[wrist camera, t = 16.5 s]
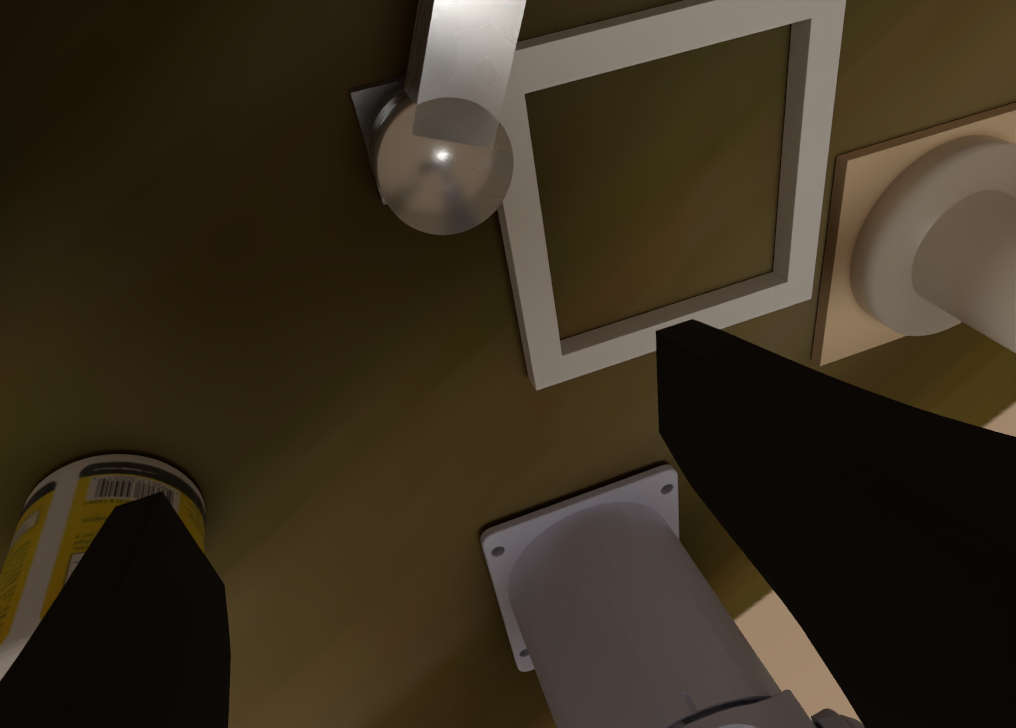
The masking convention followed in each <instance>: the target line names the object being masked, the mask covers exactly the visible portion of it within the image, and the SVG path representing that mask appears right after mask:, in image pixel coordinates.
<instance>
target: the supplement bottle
mask: <svg viewBox="0 0 1016 728" xmlns="http://www.w3.org/2000/svg"><path fill="white" fill-rule="evenodd" d="M162 491H163V493H164V494H165V496H166V497H167V499H168V500H169V502H170V503H171V505H172V506H173V508H174V509H175V511H176V512H177V514H178V515H179V517H180V518H181V520H182V521H183V523H184V524H185V526H186V528H187V529H188V531H189V532H190V534H191V535H192V537H193V538H194V540H195V541H196V543H197V544H198V546H199V547H200V549H201V550H202V552H203V553H204V544H205V518H206V516H205V506H204V501H203V498H202V496H201V494H200V492H199V490H198V489H197V487H196V486H195V485H194V484H193V482H192V481H191V480H190V479H188V478H187V477H186V476H185V475H184V474H183V473H181V472H180V471H179V470H177V469H175V468H174V467H172V466H170V465H168V464H166V463H163V462H161V461H158V460H156V459H152V458H148V457H144V456H138V455H130V454H109V455H100V456H94V457H89V458H85V459H82V460H79V461H76V462H73V463H71V464H69V465H66V466H64V467H62V468H60V469H59V470H57V471H55V472H53V473H52V474H50V475H49V476H48V477H46V478H45V479H44V480H43V481H41V482H40V483H39V484H38V485H37V486H36V487H35V489H34V490H33V491H32V493H31V494H30V496H29V497H28V499H27V501H26V503H25V506H24V508H23V511H22V513H21V516H20V519H19V522H18V525H17V528H16V531H15V534H14V537H13V539H12V542H11V545H10V549H9V552H8V554H7V557H6V560H5V563H4V566H3V569H2V572H1V575H0V681H1V679H2V678H3V676H4V675H5V674H6V672H7V671H8V669H9V668H10V667H11V665H12V664H13V662H14V661H15V660H16V658H17V657H18V655H19V654H20V652H21V651H22V649H23V648H24V646H25V645H26V643H27V642H28V640H29V639H30V637H31V635H32V634H33V632H34V631H35V629H36V628H37V626H38V625H39V623H40V622H41V620H42V619H43V617H44V616H45V614H46V613H47V611H48V609H49V608H50V606H51V605H52V603H53V602H54V600H55V599H56V597H57V596H58V594H59V593H60V591H61V590H62V588H63V586H64V585H65V583H66V582H67V580H68V579H69V577H70V575H71V574H72V572H73V571H74V569H75V568H76V566H77V564H78V563H79V561H80V560H81V558H82V557H83V555H84V553H85V552H86V550H87V549H88V547H89V546H90V544H91V542H92V541H93V539H94V538H95V536H96V535H97V533H98V531H99V530H100V528H101V527H102V525H103V524H104V522H105V521H106V519H107V518H108V516H109V515H110V514H111V512H112V511H113V509H114V508H115V506H118V505H122V504H125V503H128V502H131V501H134V500H137V499H140V498H143V497H146V496H149V495H152V494H155V493H158V492H162Z"/></svg>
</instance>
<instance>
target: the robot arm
mask: <svg viewBox="0 0 1016 728" xmlns="http://www.w3.org/2000/svg"><path fill="white" fill-rule="evenodd" d="M656 356H657V385H658V413H659V433H660V434H661V436H662V438H663V440H664V441H665V443H666V445H667V447H668V448H669V450H670V452H671V453H672V455H673V457H674V459H675V460H676V462H677V464H678V465H679V467H680V469H681V470H682V472H683V473H684V475H685V477H686V478H687V480H688V482H689V483H690V485H691V486H692V487H693V489H694V490H695V491H696V493H697V494H698V495H699V497H700V498H701V499H702V501H703V502H704V503H705V504H706V506H707V507H708V508H709V509H710V511H711V512H712V513H713V515H714V516H715V517H716V518H717V520H718V521H719V522H720V523H721V525H722V526H723V527H724V529H725V530H726V531H727V532H728V534H729V535H730V536H731V537H732V539H733V540H734V541H735V542H736V544H737V545H738V546H739V547H740V549H741V550H742V551H743V552H744V554H745V555H746V556H747V557H748V559H749V560H750V561H751V562H752V564H753V565H754V566H755V567H756V569H757V570H758V571H759V572H760V574H761V575H762V576H763V577H764V579H765V580H766V581H767V583H768V584H769V585H770V586H771V588H772V589H773V590H774V591H775V593H776V594H777V595H778V596H779V598H780V599H781V600H782V601H783V603H784V604H785V605H786V607H787V608H788V610H789V611H790V612H791V614H792V615H793V616H794V618H795V619H796V621H797V622H798V623H799V625H800V626H801V627H802V629H803V631H804V632H805V634H806V635H807V637H808V638H809V640H810V641H811V643H812V644H813V646H814V647H815V649H816V651H817V652H818V654H819V655H820V657H821V658H822V660H823V661H824V663H825V664H826V666H827V667H828V669H829V671H830V672H831V674H832V675H833V677H834V678H835V680H836V682H837V683H838V685H839V686H840V687H841V689H842V691H843V693H844V694H845V696H846V697H847V699H848V700H849V702H850V704H851V705H852V707H853V709H854V710H855V712H856V714H857V715H858V717H859V719H860V720H861V722H862V723H863V724H862V723H861V722H859V721H858V720H856V719H853V718H850V717H847V716H844V715H839V714H837V713H836V712H835V711H833V710H831V709H823V710H822V711H820V712H818V713H817V714H815V715H813V716H811V718H812V721H811V720H810V718H809V717H808V715H807V714H806V713H805V711H804V709H803V708H802V707H801V705H800V704H799V702H798V701H797V699H796V698H795V697H794V695H793V694H792V692H791V691H790V690H784V691H783V692H781V690H780V689H779V687H778V686H777V684H776V683H775V681H774V680H773V678H772V677H771V675H770V674H769V672H768V671H767V669H766V668H765V666H764V665H763V663H762V662H761V661H760V659H759V658H758V656H757V655H756V653H755V652H754V650H753V649H752V647H751V646H750V644H749V643H748V641H747V640H746V638H745V637H744V635H743V634H742V633H741V631H740V630H739V628H738V627H737V625H736V624H735V622H734V621H733V619H732V618H731V616H730V615H729V613H728V612H727V610H726V609H725V607H724V606H723V604H722V603H721V601H720V600H719V599H718V597H717V596H716V594H715V593H714V591H713V590H712V588H711V587H710V585H709V584H708V582H707V581H706V579H705V578H704V576H703V575H702V573H701V572H700V570H699V569H698V568H697V566H696V565H695V563H694V562H693V560H692V559H691V557H690V556H689V554H688V553H687V551H686V550H685V548H684V547H683V545H682V544H681V542H680V541H679V506H678V474H677V472H676V470H675V469H674V468H673V467H672V466H671V465H662V466H659V467H656V468H653V469H650V470H648V471H645V472H642V473H639V474H637V475H634V476H631V477H628V478H626V479H623V480H620V481H617V482H615V483H612V484H609V485H606V486H604V487H601V488H598V489H595V490H593V491H590V492H587V493H584V494H582V495H579V496H576V497H573V498H571V499H568V500H565V501H562V502H559V503H557V504H554V505H551V506H548V507H546V508H543V509H540V510H537V511H535V512H532V513H529V514H526V515H524V516H521V517H518V518H515V519H513V520H510V521H507V522H504V523H502V524H499V525H496V526H493V527H491V528H489V529H487V530H485V531H484V532H483V533H482V535H481V537H480V541H481V545H482V548H483V552H484V555H485V559H486V562H487V566H488V569H489V572H490V576H491V579H492V583H493V586H494V590H495V593H496V597H497V600H498V604H499V607H500V610H501V614H502V617H503V621H504V624H505V628H506V631H507V635H508V638H509V641H510V645H511V648H512V652H513V655H514V659H515V662H516V665H517V668H518V669H519V670H520V671H522V672H527V671H530V670H533V669H535V671H536V674H537V677H538V679H539V682H540V685H541V687H542V690H543V693H544V695H545V698H546V701H547V703H548V706H549V708H550V711H551V714H552V716H553V719H554V722H555V724H556V727H557V728H1016V437H1014V436H1010V435H1006V434H1003V433H999V432H995V431H992V430H989V429H985V428H982V427H978V426H975V425H971V424H968V423H964V422H961V421H957V420H954V419H950V418H947V417H943V416H940V415H937V414H934V413H931V412H928V411H924V410H921V409H918V408H915V407H912V406H909V405H906V404H904V403H901V402H898V401H895V400H892V399H890V398H887V397H884V396H881V395H878V394H876V393H873V392H870V391H867V390H864V389H862V388H859V387H856V386H854V385H851V384H849V383H846V382H843V381H841V380H838V379H836V378H833V377H831V376H828V375H826V374H823V373H821V372H818V371H816V370H813V369H811V368H808V367H806V366H804V365H801V364H799V363H796V362H794V361H792V360H789V359H787V358H785V357H782V356H780V355H778V354H775V353H773V352H771V351H768V350H766V349H764V348H761V347H759V346H757V345H754V344H752V343H750V342H747V341H745V340H743V339H741V338H738V337H736V336H734V335H731V334H729V333H727V332H724V331H722V330H720V329H717V328H715V327H712V326H710V325H707V324H705V323H702V322H700V321H697V320H694V319H691V320H688V321H685V322H682V323H678V324H675V325H672V326H669V327H666V328H663V329H660V330H657V331H656ZM496 547H497V548H496ZM494 548H495V549H494ZM230 661H231V651H230V638H229V625H228V615H227V605H226V596H225V586H224V583H223V582H222V580H221V579H220V577H219V576H218V574H217V573H216V571H215V570H214V568H213V567H212V565H211V564H210V562H209V561H208V559H207V558H206V556H205V555H204V553H203V552H202V550H201V549H200V547H199V546H198V544H197V543H196V541H195V540H194V538H193V537H192V535H191V534H190V532H189V531H188V529H187V528H186V526H185V524H184V523H183V521H182V520H181V518H180V517H179V515H178V514H177V512H176V511H175V509H174V508H173V506H172V505H171V503H170V502H169V500H168V499H167V497H166V496H165V494H164V493H163V491H162V492H158V493H155V494H152V495H149V496H146V497H143V498H140V499H137V500H134V501H131V502H128V503H125V504H122V505H118V506H115V508H114V509H113V511H112V512H111V514H110V515H109V516H108V518H107V519H106V521H105V522H104V524H103V525H102V527H101V528H100V530H99V531H98V533H97V535H96V536H95V538H94V539H93V541H92V542H91V544H90V546H89V547H88V549H87V550H86V552H85V553H84V555H83V557H82V558H81V560H80V561H79V563H78V564H77V566H76V568H75V569H74V571H73V572H72V574H71V575H70V577H69V579H68V580H67V582H66V583H65V585H64V586H63V588H62V590H61V591H60V593H59V594H58V596H57V597H56V599H55V600H54V602H53V603H52V605H51V606H50V608H49V609H48V611H47V613H46V614H45V616H44V617H43V619H42V620H41V622H40V623H39V625H38V626H37V628H36V629H35V631H34V632H33V634H32V635H31V637H30V639H29V640H28V642H27V643H26V645H25V646H24V648H23V649H22V651H21V652H20V654H19V655H18V657H17V658H16V660H15V661H14V662H13V664H12V665H11V667H10V668H9V669H8V671H7V672H6V674H5V675H4V676H3V678H2V679H1V681H0V728H228V714H229V689H230ZM812 722H813V723H812Z"/></svg>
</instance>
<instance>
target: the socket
mask: <svg viewBox="0 0 1016 728" xmlns="http://www.w3.org/2000/svg"><path fill="white" fill-rule="evenodd" d="M845 4H846V0H683V1H679V2H675V3H671V4H667V5H663V6H659V7H655V8H651V9H647V10H643V11H639V12H636V13H632V14H628V15H624V16H620V17H616V18H612V19H608V20H604V21H600V22H596V23H592V24H588V25H584V26H580V27H576V28H572V29H568V30H564V31H560V32H556V33H552V34H548V35H544V36H540V37H536V38H532V39H528V40H524V41H520V42H517V44H516V48H515V53H514V57H513V61H512V66H511V70H510V75H509V79H508V84H507V88H506V92H505V97H504V101H503V106H502V110H501V115H500V119H499V121H500V123H501V124H502V126H503V127H504V129H505V131H506V133H507V135H508V137H509V140H510V143H511V146H512V151H513V160H514V166H513V175H512V180H511V183H510V187H509V189H508V192H507V194H506V196H505V198H504V199H503V201H502V203H501V204H500V205H499V207H498V208H497V210H498V215H499V221H500V226H501V232H502V237H503V242H504V248H505V253H506V259H507V264H508V270H509V275H510V280H511V286H512V291H513V297H514V302H515V307H516V313H517V318H518V324H519V329H520V334H521V340H522V345H523V351H524V356H525V362H526V367H527V372H528V377H529V379H530V380H531V382H532V384H533V386H534V387H535V389H536V391H537V390H540V389H543V388H546V387H549V386H552V385H555V384H558V383H561V382H564V381H567V380H570V379H573V378H576V377H579V376H582V375H585V374H588V373H591V372H594V371H597V370H600V369H603V368H606V367H609V366H612V365H615V364H618V363H621V362H624V361H627V360H630V359H633V358H635V357H638V356H641V355H644V354H647V353H650V352H653V351H656V331H657V330H660V329H663V328H666V327H669V326H672V325H675V324H678V323H682V322H685V321H688V320H691V319H694V320H697V321H700V322H702V323H705V324H707V325H710V326H712V327H715V328H717V329H722V328H725V327H728V326H731V325H734V324H737V323H740V322H743V321H746V320H749V319H752V318H755V317H758V316H761V315H764V314H767V313H770V312H773V311H776V310H779V309H782V308H785V307H788V306H791V305H794V304H797V303H800V302H803V301H806V300H809V299H811V296H812V288H813V279H814V270H815V262H816V253H817V245H818V236H819V228H820V219H821V210H822V202H823V193H824V185H825V176H826V167H827V159H828V150H829V142H830V133H831V125H832V116H833V107H834V99H835V90H836V82H837V73H838V64H839V56H840V47H841V39H842V30H843V21H844V13H845ZM791 23H792V27H791V40H790V53H789V66H788V80H787V93H786V106H785V119H784V132H783V146H782V159H781V172H780V185H779V198H778V212H777V225H776V238H775V251H774V265H773V272H770V273H767V274H764V275H761V276H758V277H755V278H752V279H749V280H745V281H742V282H739V283H736V284H733V285H730V286H727V287H724V288H721V289H718V290H715V291H712V292H708V293H705V294H702V295H699V296H696V297H693V298H690V299H687V300H684V301H681V302H678V303H675V304H671V305H668V306H665V307H662V308H659V309H656V310H653V311H650V312H647V313H644V314H641V315H638V316H634V317H631V318H628V319H625V320H622V321H619V322H616V323H613V324H610V325H607V326H604V327H601V328H597V329H594V330H591V331H588V332H585V333H582V334H579V335H576V336H573V337H570V338H567V339H564V340H560V338H559V331H558V324H557V317H556V310H555V303H554V296H553V290H552V283H551V276H550V269H549V262H548V255H547V248H546V241H545V234H544V227H543V220H542V213H541V206H540V199H539V193H538V186H537V179H536V172H535V165H534V158H533V151H532V144H531V137H530V130H529V123H528V116H527V109H526V102H525V95H524V94H526V93H529V92H533V91H537V90H541V89H544V88H548V87H552V86H556V85H560V84H563V83H567V82H571V81H575V80H579V79H582V78H586V77H590V76H594V75H598V74H601V73H605V72H609V71H613V70H617V69H620V68H624V67H628V66H632V65H636V64H639V63H643V62H647V61H651V60H655V59H658V58H662V57H666V56H670V55H673V54H677V53H681V52H685V51H689V50H692V49H696V48H700V47H704V46H708V45H711V44H715V43H719V42H723V41H727V40H730V39H734V38H738V37H742V36H746V35H749V34H753V33H757V32H761V31H765V30H768V29H772V28H776V27H780V26H783V25H787V24H791Z"/></svg>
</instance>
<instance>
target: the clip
mask: <svg viewBox="0 0 1016 728" xmlns="http://www.w3.org/2000/svg"><path fill="white" fill-rule="evenodd" d="M525 4H526V0H418V6H417V12H416V18H415V25H414V31H413V37H412V44H411V50H410V56H409V63H408V69H407V75H406V82H405V88H404V91H402V92H400V93H399V94H397V95H396V96H395V97H393V98H392V99H391V100H390V101H389V102H388V103H387V104H386V105H385V106H384V107H383V109H382V110H381V112H380V113H379V115H378V116H377V118H376V120H375V122H374V124H373V127H372V130H371V134H370V139H369V160H370V166H371V169H372V172H373V175H374V177H375V179H376V181H377V183H378V186H379V188H380V190H381V192H382V194H383V196H384V198H385V200H386V202H387V204H388V205H389V207H390V208H391V210H392V211H393V212H394V213H395V215H396V216H397V217H398V218H399V219H401V220H402V221H403V222H404V223H406V224H407V225H409V226H410V227H412V228H414V229H416V230H419V231H422V232H425V233H429V234H434V235H451V234H456V233H461V232H464V231H467V230H469V229H471V228H474V227H476V226H477V225H479V224H480V223H482V222H484V221H485V220H486V219H487V218H488V217H490V216H491V215H492V214H493V213H494V212H495V211H496V209H497V208H498V207H499V205H500V204H501V203H502V201H503V199H504V198H505V196H506V194H507V192H508V189H509V187H510V183H511V180H512V175H513V166H514V160H513V151H512V146H511V143H510V140H509V137H508V135H507V133H506V131H505V129H504V127H503V126H502V124H501V123H500V121H499V119H500V115H501V110H502V106H503V101H504V97H505V92H506V88H507V84H508V79H509V75H510V70H511V66H512V61H513V57H514V53H515V48H516V44H517V39H518V35H519V30H520V26H521V22H522V17H523V13H524V8H525Z"/></svg>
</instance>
